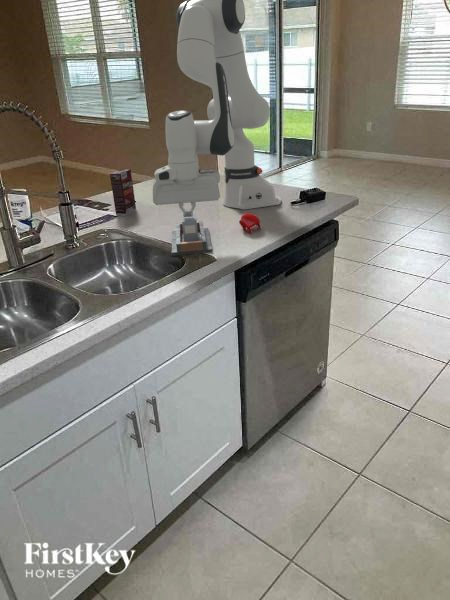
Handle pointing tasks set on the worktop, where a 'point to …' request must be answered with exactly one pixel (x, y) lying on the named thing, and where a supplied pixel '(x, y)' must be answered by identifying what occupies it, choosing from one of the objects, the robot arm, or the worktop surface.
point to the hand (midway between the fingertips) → (188, 216)
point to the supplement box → (123, 192)
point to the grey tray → (191, 247)
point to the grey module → (190, 228)
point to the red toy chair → (249, 221)
